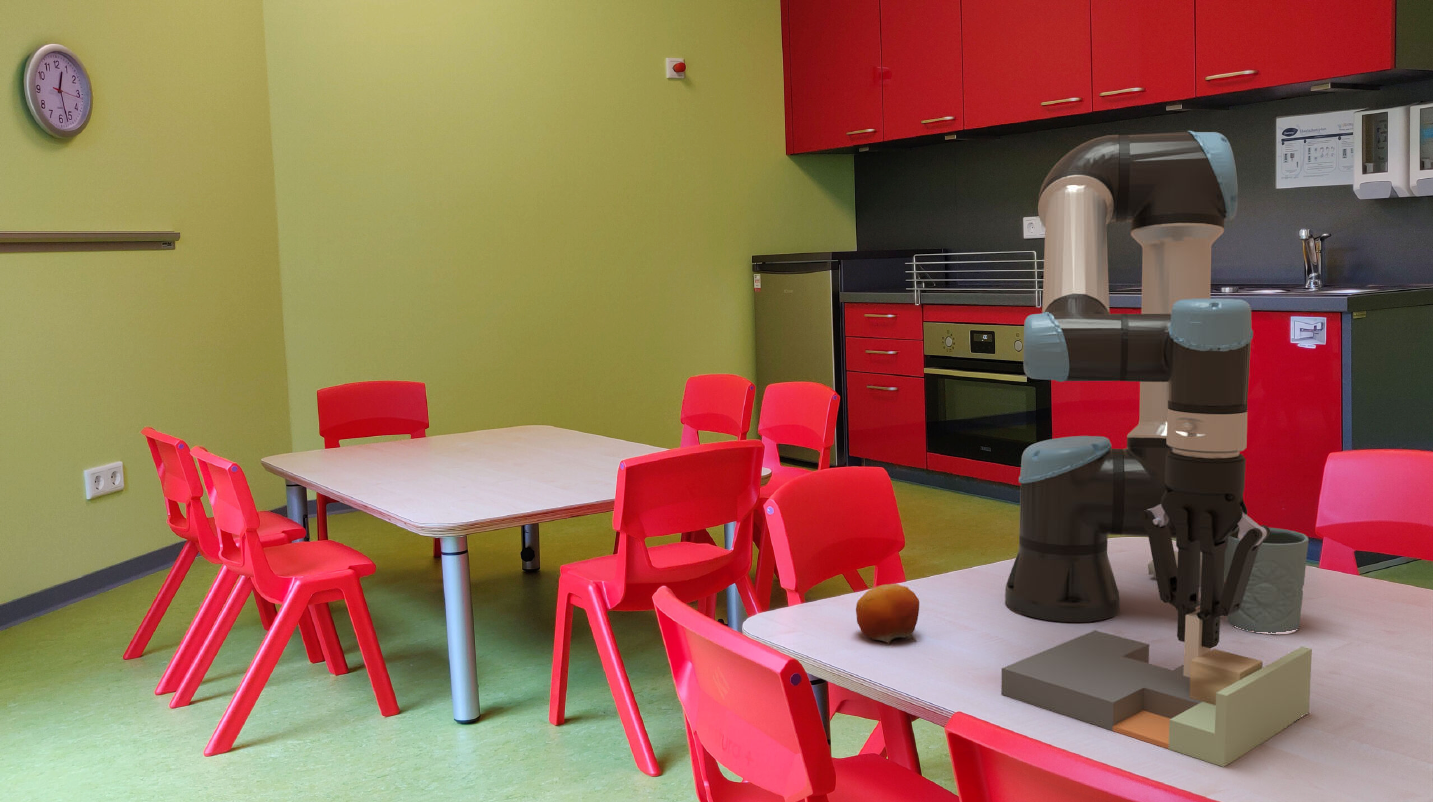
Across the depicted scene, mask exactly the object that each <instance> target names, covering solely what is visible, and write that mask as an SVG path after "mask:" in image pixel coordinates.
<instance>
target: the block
mask: <svg viewBox="0 0 1433 802" xmlns="http://www.w3.org/2000/svg"><path fill="white" fill-rule="evenodd" d="M1261 668H1263V661H1262V660H1260V659H1255V658H1251V657H1247V656H1244V655H1240V654H1237V653H1232V652H1228V651H1226V650H1225V651H1224V650H1220V649H1217V648H1213V649H1211V651H1209V652H1207V653H1205V654H1203V655H1201V656H1199V657H1196V658H1194V659H1192V660H1191V670H1190V696H1189V698H1192V699H1195V700H1199V701H1202V702H1205V703H1209V704H1212V705H1216V693H1217V692H1219V691H1221V690H1223V689H1224V688H1226V687H1228V686H1230V685H1232V684H1234V683H1235V682H1237V681H1239V680H1241V679H1243V678H1245V677H1247V676H1248V675H1250V674H1252V673H1254V672H1256V671H1258V670H1260V669H1261Z"/></svg>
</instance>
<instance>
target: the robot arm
mask: <svg viewBox="0 0 1433 802" xmlns="http://www.w3.org/2000/svg"><path fill="white" fill-rule="evenodd" d="M1238 187H1239V186H1238V175H1237V167H1236V162H1235V157H1234V152H1233V148H1232V146H1231V143H1230V142H1229V140H1228V138H1227V137H1226V136H1225V135H1223V134H1222V133H1219V132H1217V131H1212V132H1211V131H1210V132H1208V131H1207V132H1206V131H1203V132H1202V131H1201V132H1200V131H1193V130H1186V131H1180V132H1179V131H1177V132H1176V131H1175V132H1160V133H1144V134H1141V133H1139V134H1121V135H1119V134H1112V135H1109V134H1107V135H1104V136H1099V137H1095V138H1093V139H1090V140H1088V141H1086V142H1084V143H1081V144H1080V145H1078V146H1076V147H1075V148H1073V149H1071V150H1070V151H1069V152H1067V153H1066V154H1065V155H1064V156H1062V158H1060V160H1058V161H1057V162H1056V164H1055V165H1054V166H1053V167H1052V168H1051V170H1049V172H1048V174H1047V175H1046V177H1045V178H1044V180H1043V183H1042V185H1041V187H1040V190H1039V194H1038V202H1037V203H1038V204H1037V212H1038V218H1039V220H1040V222H1041V225H1042V226H1043V227H1044V254H1043V255H1044V256H1043V281H1042V282H1043V284H1042V286H1043V287H1042V288H1043V289H1042V307H1041V308H1042V309H1041V312H1042V313H1035V314H1034V313H1033V314H1030V315H1028V316H1027V317H1026V318H1025V320H1024V324H1023V327H1024V328H1023V353H1022V354H1023V357H1022V358H1023V372H1024V374H1025V376H1027V377H1028V378H1030V379H1033V380H1046V381H1048V380H1049V381H1056V382H1057V383H1058V382H1059V383H1061V382H1063V383H1064V382H1134V383H1135V382H1136V383H1137V382H1139V419H1138V420H1139V421H1138V424H1137V425H1136V426H1135V427H1134V428H1133V429H1132V430H1131V431H1130V432H1128V434H1127V435H1126V448H1112V445H1113V444H1112V443H1111V441H1110V439H1109V438H1108V437H1105V436H1101V435H1100V436H1099V435H1096V436H1095V435H1094V436H1092V435H1091V436H1090V435H1077V436H1075V435H1074V436H1065V437H1064V436H1063V437H1058V438H1051V439H1046V440H1041V441H1038V442H1036V443H1033V444H1031V445H1029V446H1027V448H1025V449H1024V450H1023V452H1022V455H1021V461H1020V462H1021V463H1020V474H1019V477H1018V483H1020V493H1019V494H1020V497H1019V498H1020V501H1019V529H1018V530H1019V533H1018V536H1019V538H1018V539H1019V541H1018V552H1017V553H1016V556H1015V559H1014V562H1013V566H1012V568H1011V571H1010V574H1009V576H1008V579H1007V581H1006V583H1005V588H1004V589H1005V591H1004V603H1005V605H1006V606H1007V608H1009V609H1010V610H1012V611H1013V612H1015V613H1019V614H1020V615H1023V616H1026V617H1027V616H1028V617H1031V618H1036V619H1039V620H1040V619H1041V620H1046V621H1053V622H1065V623H1067V622H1068V623H1083V622H1085V623H1087V622H1095V621H1101V620H1107V619H1109V618H1113V617H1114V616H1116V615H1117V614H1119V612H1120V600H1121V599H1120V591H1119V589H1118V586H1117V583H1116V582H1117V581H1116V579H1115V576H1114V571H1113V568H1112V565H1111V562H1110V559H1109V556H1108V536H1109V535H1112V536H1113V535H1114V536H1117V535H1118V536H1131V537H1133V536H1135V537H1148V542H1149V543H1148V544H1149V546H1150V547H1149V548H1150V552H1151V558H1152V560H1153V564H1154V569H1155V574H1156V577H1155V579H1156V584H1157V589H1158V595H1159V599H1160V601H1161V602H1162V603H1164V604H1169V605H1171V606H1172V607H1174V608H1175V610H1176V611H1177V628H1176V629H1177V630H1176V631H1177V632H1176V635H1177V636H1176V637H1177V639H1178V641H1180V642H1182V643H1184V650H1183V665H1184V672H1183V676H1187V677H1190V670H1191V660H1192V659H1194V658H1196V657H1199V656H1201V655H1203V654H1205V653H1207V652H1209V651H1211V650H1212V648H1213V649H1214V648H1215V647H1217V646H1218V645H1219V643H1220V629H1221V617H1227V616H1228V615H1230V614H1232V613H1234V612H1236V611H1238V610H1239V609H1240V607H1241V604H1242V600H1243V597H1244V594H1245V591H1246V588H1247V584H1248V581H1249V578H1250V575H1251V571H1252V568H1253V565H1254V562H1255V559H1256V555H1257V552H1258V549H1259V547H1260V545H1261V544H1262V543H1263V542H1264V541H1265V539H1266V538H1267V537H1268V536H1269V534H1270V529H1269V528H1270V527H1269V528H1268V526H1267V525H1264V524H1262V525H1260V524H1258V523H1257V522H1256V521H1254V520H1253V519H1252V518H1251V517H1250V516H1248V508H1247V506H1246V504H1245V501H1244V493H1245V487H1246V486H1245V485H1246V484H1245V483H1246V482H1245V481H1246V479H1245V478H1246V460H1247V459H1246V457H1244V455H1243V454H1242V453H1240V452H1243V451H1244V450H1246V449H1247V448H1248V447H1247V442H1248V441H1247V440H1248V438H1247V437H1248V436H1247V435H1248V398H1249V397H1248V396H1249V379H1250V363H1251V361H1250V359H1251V349H1252V348H1251V347H1252V345H1251V344H1252V340H1253V338H1254V330H1253V329H1252V308H1251V305H1250V304H1249V303H1248V302H1247V301H1246V300H1243V299H1238V298H1236V299H1233V298H1211V286H1212V285H1211V279H1212V275H1211V274H1212V245H1213V243H1215V242H1216V240H1218V238H1220V236H1222V235H1223V233H1224V232H1225V222H1226V221H1227V222H1228V221H1230V220H1232V219H1234V218H1235V217H1236V215H1237V211H1238V204H1239V202H1238V192H1239V191H1238V190H1239V188H1238ZM1111 222H1115V223H1128V222H1130V235H1131V237H1132V239H1134V240H1135V241H1136V242H1137V243H1138V244H1139V245H1140V246H1141V249H1142V259H1141V260H1142V264H1141V266H1142V267H1141V269H1142V270H1141V272H1142V273H1141V311H1140V313H1110V293H1109V291H1110V289H1109V288H1110V287H1109V264H1108V263H1109V261H1108V235H1107V233H1108V232H1107V225H1108V224H1109V223H1111ZM1237 527H1239V528H1240V530H1239V533H1238V538H1239V539H1240V540H1241V541H1240V542H1239V543H1238V545H1237V547H1236V550H1235V553H1234V556H1233V560H1232V563H1231V566H1230V569H1229V573H1228V576H1227V579H1226V582H1224V564H1225V550H1226V548H1227V545H1228V537H1229V536H1230V535H1231V534H1232V533H1233V532H1234V530H1235V529H1236V528H1237ZM1173 539H1175V547H1176V548H1177V552H1178V567H1177V564H1176V559H1175V554H1174V551H1175V550H1174V545H1173ZM1200 552H1202V574H1201V587H1199V575H1200ZM1199 592H1200V593H1199ZM1199 595H1200V596H1199ZM1199 597H1200V598H1199ZM1199 599H1200V601H1199ZM1198 607H1199V609H1197V608H1198ZM1196 609H1197V610H1196Z"/></svg>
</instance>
